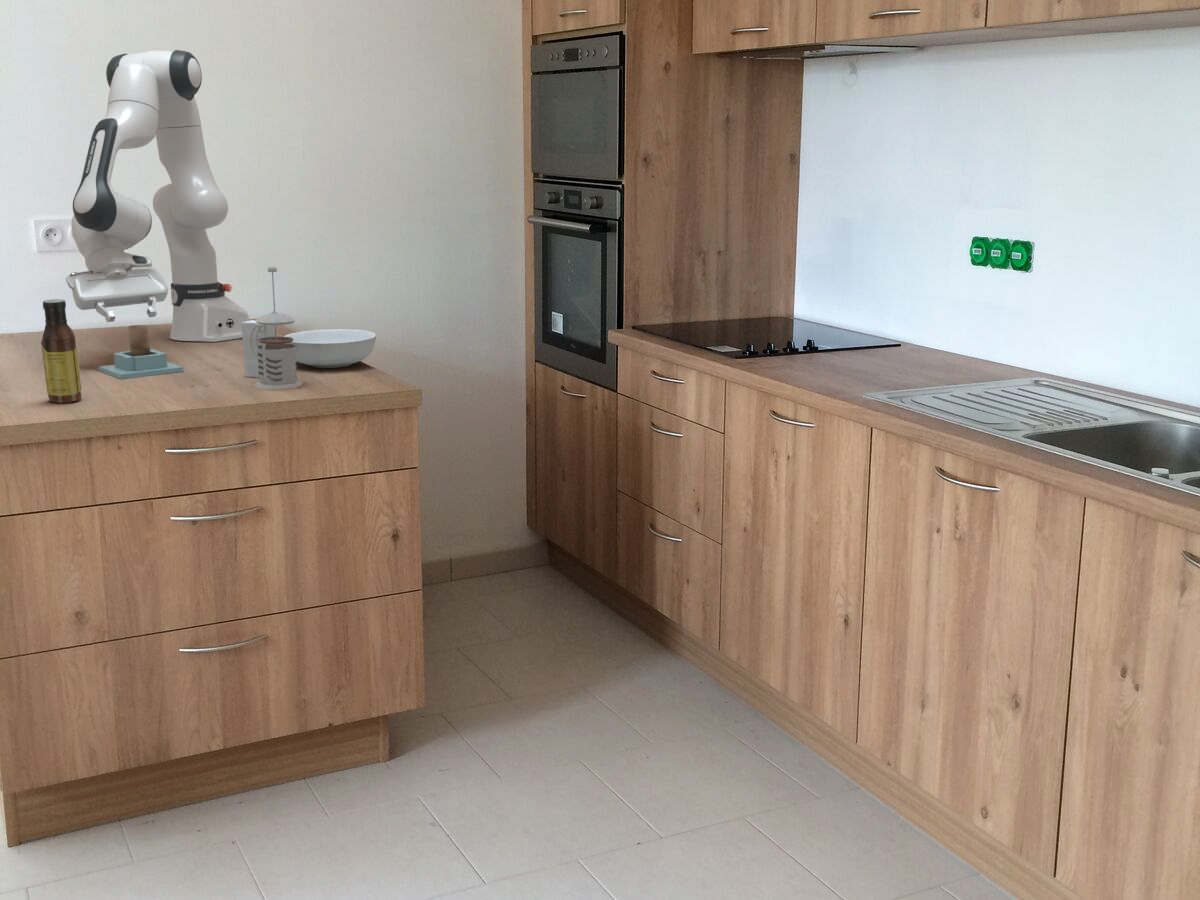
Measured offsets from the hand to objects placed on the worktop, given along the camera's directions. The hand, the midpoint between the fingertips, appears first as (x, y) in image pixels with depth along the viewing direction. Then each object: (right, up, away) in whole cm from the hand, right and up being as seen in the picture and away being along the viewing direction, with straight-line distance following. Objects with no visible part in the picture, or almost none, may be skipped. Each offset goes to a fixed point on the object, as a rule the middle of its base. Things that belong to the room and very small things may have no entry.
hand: (132, 317), depth 272 cm
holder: (+2, -12, -1) cm, 12 cm away
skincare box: (+30, -13, -4) cm, 33 cm away
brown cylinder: (+2, -11, -1) cm, 11 cm away
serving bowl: (+42, -10, +11) cm, 44 cm away
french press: (+35, -16, -12) cm, 40 cm away
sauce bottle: (-1, -20, -32) cm, 37 cm away
